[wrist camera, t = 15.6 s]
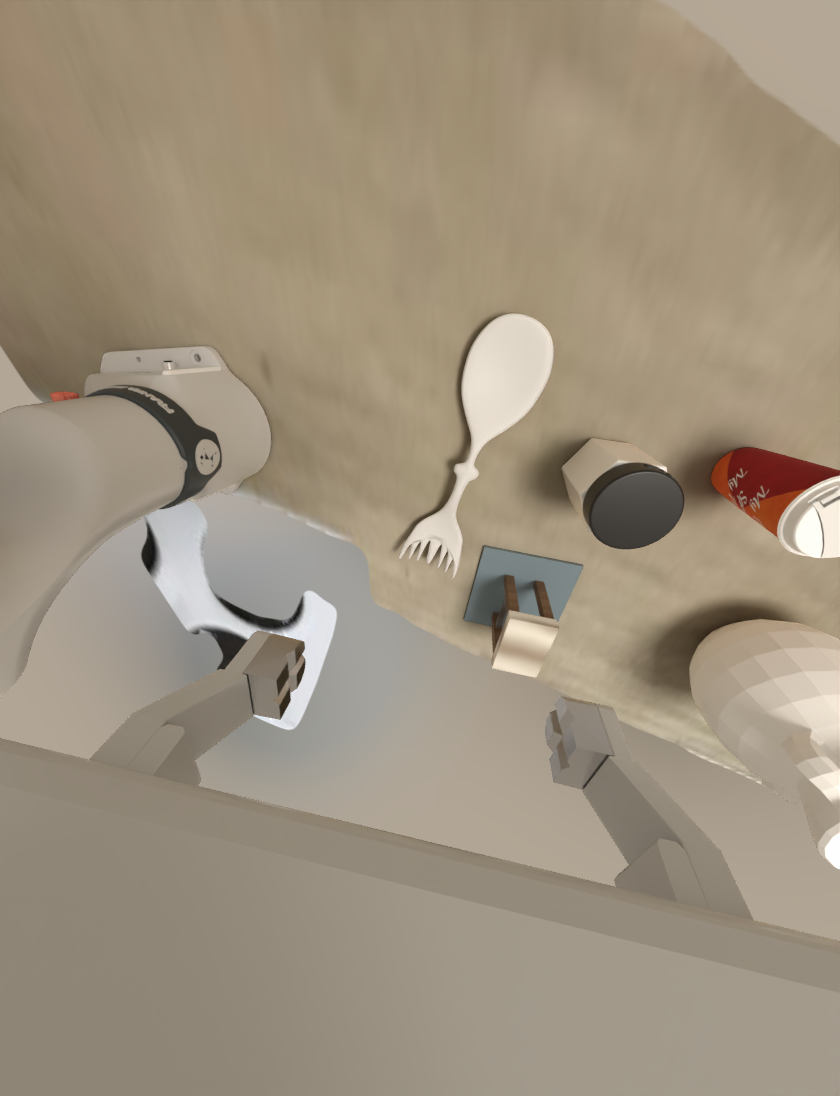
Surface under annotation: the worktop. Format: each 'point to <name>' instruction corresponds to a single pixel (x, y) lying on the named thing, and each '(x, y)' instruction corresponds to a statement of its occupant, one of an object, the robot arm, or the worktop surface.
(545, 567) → the mat
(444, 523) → the white spork
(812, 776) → the white vase
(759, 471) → the paper cup
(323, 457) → the worktop surface
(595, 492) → the jar
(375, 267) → the worktop surface
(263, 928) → the robot arm
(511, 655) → the stool
